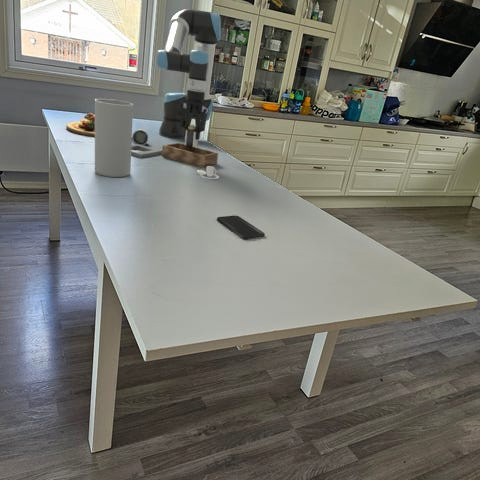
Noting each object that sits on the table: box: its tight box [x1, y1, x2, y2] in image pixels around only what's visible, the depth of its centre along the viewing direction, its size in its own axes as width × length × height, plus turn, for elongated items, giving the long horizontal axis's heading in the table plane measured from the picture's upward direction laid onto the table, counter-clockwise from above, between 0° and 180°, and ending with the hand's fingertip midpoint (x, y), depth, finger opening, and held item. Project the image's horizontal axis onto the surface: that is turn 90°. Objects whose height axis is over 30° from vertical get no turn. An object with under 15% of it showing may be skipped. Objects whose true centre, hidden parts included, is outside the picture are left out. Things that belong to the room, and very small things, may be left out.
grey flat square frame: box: [131, 143, 162, 159], centre depth 184 cm, size 15×15×2 cm
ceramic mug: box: [132, 128, 149, 146], centre depth 199 cm, size 10×8×7 cm
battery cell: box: [186, 124, 196, 153], centre depth 181 cm, size 4×4×13 cm
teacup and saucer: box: [197, 165, 220, 180], centre depth 164 cm, size 9×8×4 cm
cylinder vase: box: [94, 98, 134, 178], centre depth 144 cm, size 12×12×25 cm
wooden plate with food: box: [66, 112, 95, 138], centre depth 212 cm, size 32×32×8 cm
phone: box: [216, 215, 266, 240], centre depth 118 cm, size 8×1×15 cm
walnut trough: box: [161, 142, 219, 168], centre depth 183 cm, size 22×12×5 cm, turn 62°
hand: (190, 145), depth 182 cm, fingers closed on battery cell, 4 cm apart
